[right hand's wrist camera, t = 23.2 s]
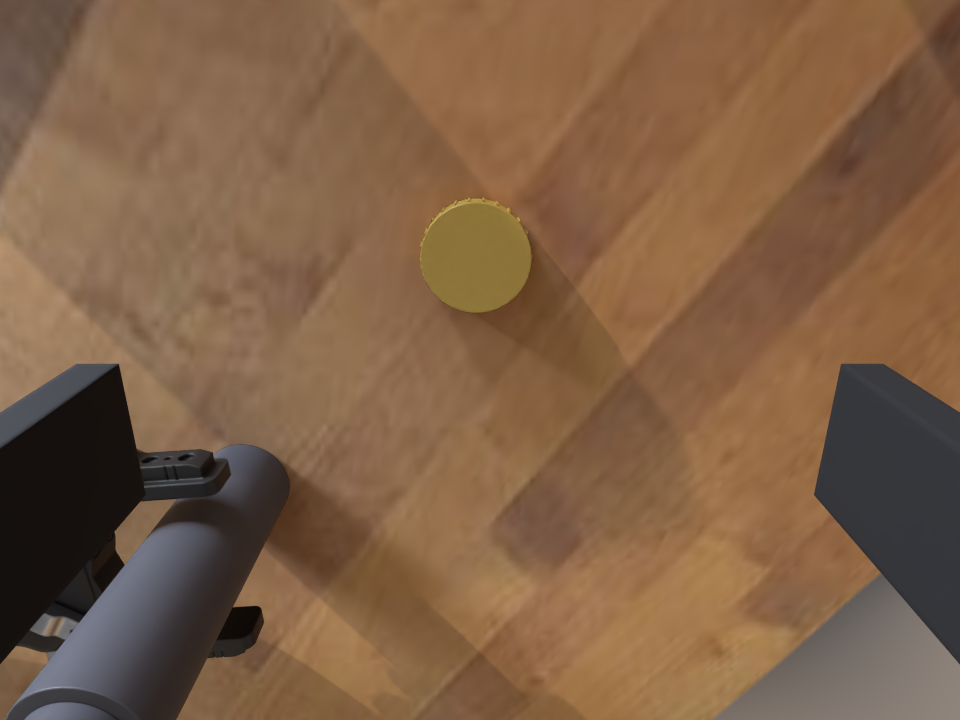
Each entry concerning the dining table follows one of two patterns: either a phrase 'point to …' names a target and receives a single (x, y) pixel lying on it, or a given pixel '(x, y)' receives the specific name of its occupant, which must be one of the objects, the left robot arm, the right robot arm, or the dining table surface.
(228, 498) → the bottle
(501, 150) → the dining table surface
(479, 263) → the lid
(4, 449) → the right robot arm
